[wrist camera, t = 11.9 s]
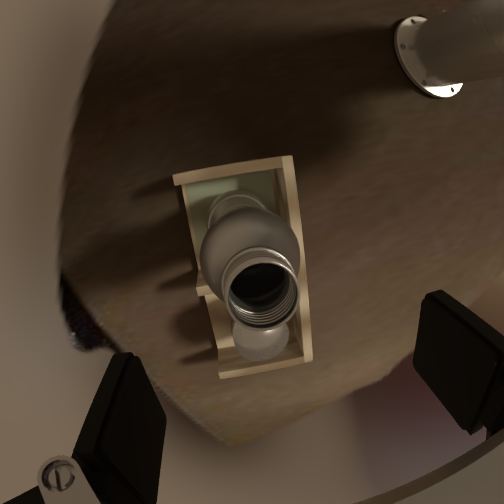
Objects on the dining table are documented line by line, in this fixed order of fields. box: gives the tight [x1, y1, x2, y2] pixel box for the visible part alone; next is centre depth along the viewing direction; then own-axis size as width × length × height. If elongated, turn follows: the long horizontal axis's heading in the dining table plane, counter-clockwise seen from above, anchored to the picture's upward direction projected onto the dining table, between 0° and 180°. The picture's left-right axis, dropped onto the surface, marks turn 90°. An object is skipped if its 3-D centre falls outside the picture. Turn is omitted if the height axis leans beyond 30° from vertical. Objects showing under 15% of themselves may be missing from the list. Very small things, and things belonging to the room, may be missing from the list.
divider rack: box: [173, 155, 313, 379], centre depth 33 cm, size 23×11×6 cm, turn 9°
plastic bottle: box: [200, 190, 301, 331], centre depth 23 cm, size 6×7×20 cm
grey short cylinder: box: [227, 310, 289, 361], centre depth 33 cm, size 6×6×7 cm
